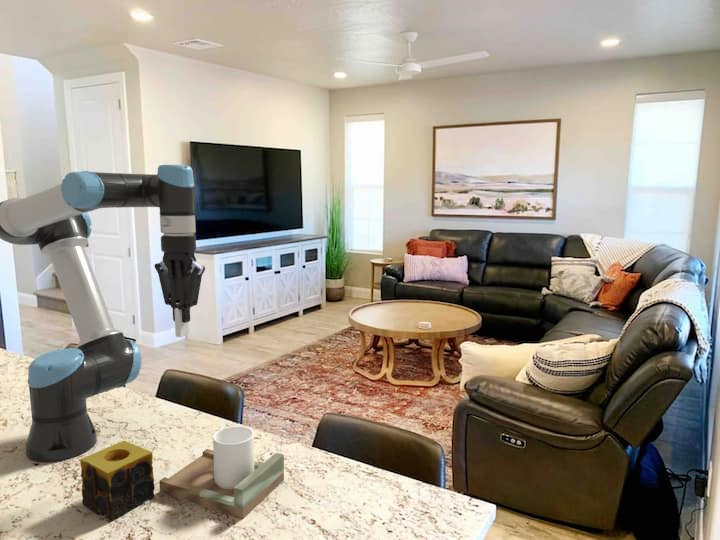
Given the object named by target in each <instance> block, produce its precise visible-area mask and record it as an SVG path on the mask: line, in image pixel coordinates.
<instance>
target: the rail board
mask: <svg viewBox="0 0 720 540" xmlns="http://www.w3.org/2000/svg"><path fill="white" fill-rule="evenodd" d="M284 481H285V455H284V454H283V453H278V452H275V453H274V454H273V455H272V456H270V457H269V458H268V459H266V460H265V461H264V462H261V461H256V460H254V471H253V472H252V473H251V474H250V475H249V476H247V477H246V478H245V479H244V480H243V481H241V482H240V483H239V484H238V485H237V486H235V487H234V490H227V489H222V488H220V487H219V486H217V484H216V483H215V479H214V452H213V449H208V448H206V449H205V450H203V451H202V455H201V456H199V457H198V458H196V459H194V460H193V461H191V462H190V463H189V464H187V465H186V466H184V467H183V468H182V469H180V470H179V471H176V472H175V473H174V474H173V475H171V476H169V477H163V478H161V479H159V481H158V482H159V483H158V484H159V494H161V495H164V496H168V497H171V498H175V499H178V500H181V501H183V502H188V503H191V504H193V505H197V506H201V507H203V508H207V509H210V510H214V511H217V512H219V513H224V514H226V515H229V516H233V517H235V518H239V519H244V518H246V517H247V516H248V515H249V514H250V513H251V512H252V511H253V510H254V509H255V508H256V507H257V506H259V504H260V503H261V502H263V501H264V500H265V499H266V498H267V497H268V496H269V495H270V494H271V493H273V491H274V490H275V489H276V488H277V487H278V486H279V485H281V484H282V482H284Z"/></svg>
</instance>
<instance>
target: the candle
mask: <svg viewBox="0 0 720 540" xmlns="http://www.w3.org/2000/svg"><path fill="white" fill-rule="evenodd" d="M79 462H80V469H81V470H80V471H81V472H80V473H81V475H80V477H81V496H82V500H81V502H82V506H84V507H85V508H87V509H89V510H90V511H92V512H93V513H95V514H97V515H98V516H99V515H100V516H103V517H104V518H105V519H106V520H108V521H110V522H112V521H114V520H115V519H118V518H119V517H121V516H124V515H125V514H127V513H128V512H130V511H133V509H136V508H137V507H139V506H140V505H142V504H144V503H146V502H147V501H149V500H151V499H153V498H154V497H155V478H154V467H153V464H154V463H153V462H154V461H153V452H152V451H150V450H148V449H146V448H143V447H140V446H138V445H135V444H134V443H132V442H129V441H126V440H122V441H119V442H116V443H115V444H113V445H110V446H107V447H105V448H103V449H101V450H99V451H96V452H94V453H93V454H89V455H88V456H84V457H82V458H80V460H79Z"/></svg>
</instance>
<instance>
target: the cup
mask: <svg viewBox="0 0 720 540" xmlns="http://www.w3.org/2000/svg"><path fill="white" fill-rule="evenodd" d="M254 436H255V433H254V431H253V430H252V428H250V427H247V426H243V425H242V426H240V425H236V426H233V425H232V426H228V427H224V428H221V429H219V430H217V431H216V432H215V433H213V436H212V444H213V445H212V446H213V449H212V450H213V452H214V479H215V483H216V484H217V486H219V487H220V488H222V489H227V490H234V487H235V486H237V485H238V484H239V483H240V482H241V481H243V480H244V479H245V478H246V477H247V476H249V475H250V474H251V473H252V472H253V471H254V461H255V440H254V439H255V438H254Z"/></svg>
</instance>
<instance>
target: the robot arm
mask: <svg viewBox="0 0 720 540" xmlns="http://www.w3.org/2000/svg"><path fill="white" fill-rule="evenodd" d="M194 180H195V179H194V171H193V168H192V167H191V166H189V165H186V164H184V165H183V164H161V165H160V164H159V166H158V167H157V174H153V173H152V174H148V173H147V174H144V173H123V172H122V173H118V172H114V173H113V172H97V171H95V172H94V171H89V170H83V171H71V172H68V173H67V174H65V176H64V178H62V181H61V183H59V184H57V185H55V186H54V185H53V186H52V187H49V188H47V189H44V190H42V191H39V192H37V193H34V194H31V195H28V196H26V197H24V198H20V197H12V198H9V199H6V200H3V201H1V202H0V240H2V241H5V242H7V243H9V244H13V245H18V246H19V245H20V246H25V245H26V246H28V245H30V246H31V245H38V247H39V250H40V252H41V254H42V255H44V256H46V257H48V258H49V259H50V261H51V264H52V266H53V269H54V272H55V274H56V278H57V280H58V283H59V286H60V289H61V292H62V294H63V297H64V299H65V302H66V305H67V308H68V311H69V313H70V316H71V319H72V321H73V324H74V327H75V330H76V333H77V336H78V338H79V342H78V344H77V345H76V347H68V348H67V347H66V348H62V349H55V350H51V351H49V352H46V353H43V354H41V355H39V356H37V357H36V358H34V359H33V360H32V361H31V362H30V364H29V365H28V369H27V370H28V373H27V374H28V377H27V384H28V390H29V391H28V392H29V400H30V402H29V403H30V413H31V421H32V422H31V425H30V429H29V433H28V437H27V440H26V443H25V453H26V454H25V455H26V457H27V458H28V459H29V460H32V461H35V462H44V463H45V462H46V463H47V462H57V461H62V460H66V459H67V460H68V459H71V458H75V457H76V456H77V457H78V456H79V455H83V454H84V453H86V452H87V451H89V450H90V449H92V448H93V447H94V446H95V445H96V444H97V441H98V438H97V437H98V436H97V431H96V428H95V426H94V423H93V421H92V419H91V417H90V416H89V413H88V408H87V399H89V398H91V397H95V396H97V395H100V394H103V393H105V392H108V391H112V390H114V389H119V388H122V387H124V386H125V385H127V384H129V383H133V382H134V381H135V380H136V379H137V378H138V376H139V374H140V372H141V369H142V363H143V360H142V358H143V357H142V353H141V350H140V348H139V347H140V346H138V343H135V340H132V339H128V338H127V339H126V338H125V335H124V333H123V331H121V330H119V329H116V328H115V327H114V324H113V323H114V322H113V321H112V317H111V315H110V313H109V310H108V307H107V305H106V301H105V300H104V297H103V294H102V292H101V289H100V285H99V283H98V281H97V278H96V275H95V273H94V270H93V267H92V265H91V262H90V260H89V257H88V253H87V252H86V249H85V248H86V247H87V245H88V243H89V239H88V238H89V237H90V236H91V235H92V220H91V216H90V214H89V212H92V211H96V210H99V209H106V208H107V209H108V208H111V209H113V208H159V223H160V224H159V225H160V226H159V227H160V233H162V234H163V235H161V236H160V250H161V252H162V253H163V256H162V260H161V261H160V262H159V263H155V264H154V268H155V271H156V273H157V274H158V278H159V283H160V288H161V292H162V297H163V300H164V304H165V305H167V306H170V308H172V320H173V322H174V326H175V327H174V328H175V330H174V332H175V337H176V338H183V337H186V336H188V335H190V334H189V333H190V331H189V330H190V329H189V327H190V325H189V323H190V322H191V308H192V307H195V306H197V305H198V302H199V301H198V300H199V295H200V291H201V290H200V289H201V284H202V277H203V275H204V272H205V271H206V266H205V265H200V264H199V263H198V262H197V258H196V256H195V252H196V250H197V238H196V237H197V236H196V235H195V233H196V232H197V231H196V213H195V211H196V210H195V185H196V184H195V181H194Z"/></svg>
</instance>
